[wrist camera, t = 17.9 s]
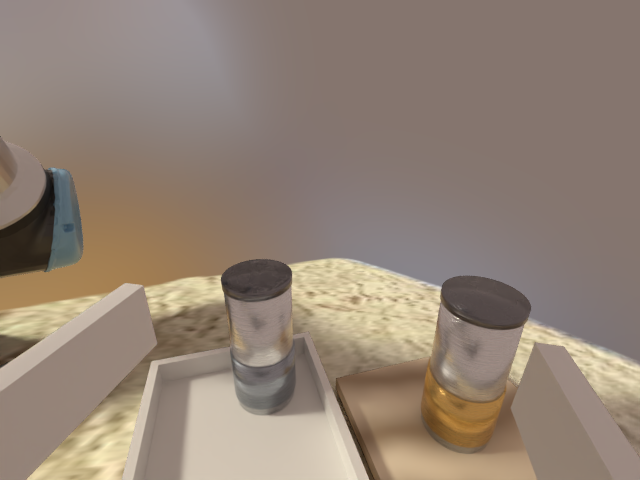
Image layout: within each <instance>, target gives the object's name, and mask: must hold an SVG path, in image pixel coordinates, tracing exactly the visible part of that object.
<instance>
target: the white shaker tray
mask: <svg viewBox="0 0 640 480" xmlns="http://www.w3.org/2000/svg"><path fill="white" fill-rule="evenodd" d="M293 338H294V342H295V370H296V386H295V391H294V396H293V398H292V400H291V401H290V403H289V404H288V405H287V406H286V407H285V408H283V409H282V410H280V411H279V412H276V413H274V414H270V415H263V416H262V415H254V414H251V413H248V412H247V411H245V410H244V409H243V408H242V407H241V406H240V404H239V401H238V398H237V396H236V393H235V386H234V378H233V371H232V363H231V356H230V348H231V346H230V347H224V348H219V349H214V350H208V351H203V352H198V353H192V354H187V355H182V356H176V357H171V358H166V359H161V360H155V361H151V365H150V369H149V373H148V377H147V381H146V385H145V389H144V393H143V397H142V401H141V405H140V409H139V413H138V417H137V421H136V425H135V429H134V433H133V437H132V441H131V445H130V449H129V453H128V457H127V460H126V464H125V468H124V472H123V476H122V480H369V478H368V475H367V473H366V470H365V468H364V465H363V463H362V461H361V458H360V456H359V453H358V451H357V448H356V446H355V443H354V441H353V439H352V436H351V434H350V431H349V429H348V426H347V424H346V421H345V419H344V417H343V414H342V412H341V409H340V407H339V404H338V402H337V399H336V397H335V394H334V392H333V390H332V387H331V385H330V382H329V380H328V377H327V375H326V372H325V370H324V368H323V365H322V363H321V360H320V358H319V355H318V353H317V350H316V348H315V345H314V343H313V341H312V338H311V336H310V333H309V332H304V333H299V334H293Z"/></svg>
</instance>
